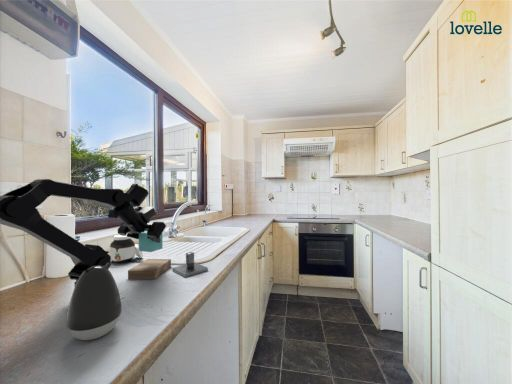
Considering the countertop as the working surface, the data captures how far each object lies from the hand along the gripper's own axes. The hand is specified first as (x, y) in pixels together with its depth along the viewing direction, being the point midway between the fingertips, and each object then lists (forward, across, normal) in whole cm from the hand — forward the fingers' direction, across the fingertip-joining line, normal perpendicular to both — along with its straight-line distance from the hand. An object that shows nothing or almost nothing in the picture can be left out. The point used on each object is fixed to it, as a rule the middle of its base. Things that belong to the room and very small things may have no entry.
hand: (153, 241), depth 91 cm
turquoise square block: (+1, 0, +3) cm, 3 cm away
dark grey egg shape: (-16, -18, +34) cm, 42 cm away
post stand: (+12, -14, +5) cm, 19 cm away
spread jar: (+14, +23, +3) cm, 27 cm away
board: (+8, 0, +9) cm, 12 cm away
